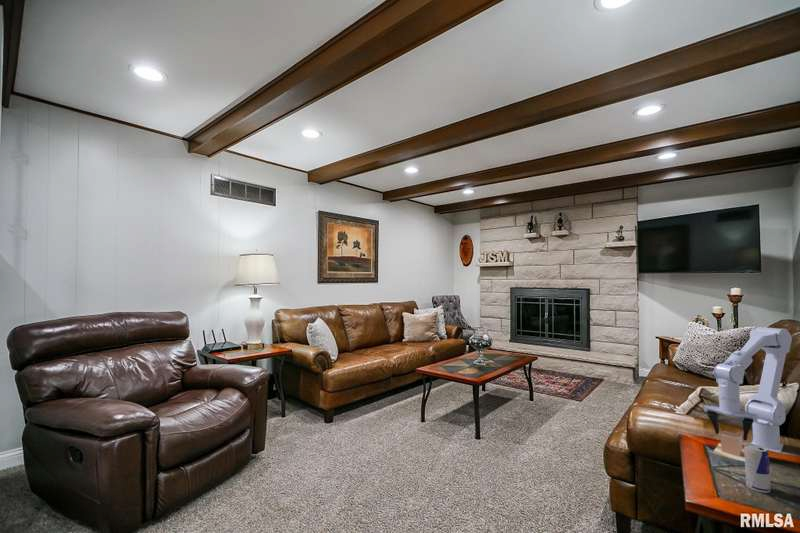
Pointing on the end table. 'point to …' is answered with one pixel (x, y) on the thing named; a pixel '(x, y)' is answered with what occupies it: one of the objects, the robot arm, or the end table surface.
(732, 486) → the end table surface
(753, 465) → the energy drink
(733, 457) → the birch board
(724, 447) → the salmon cube
